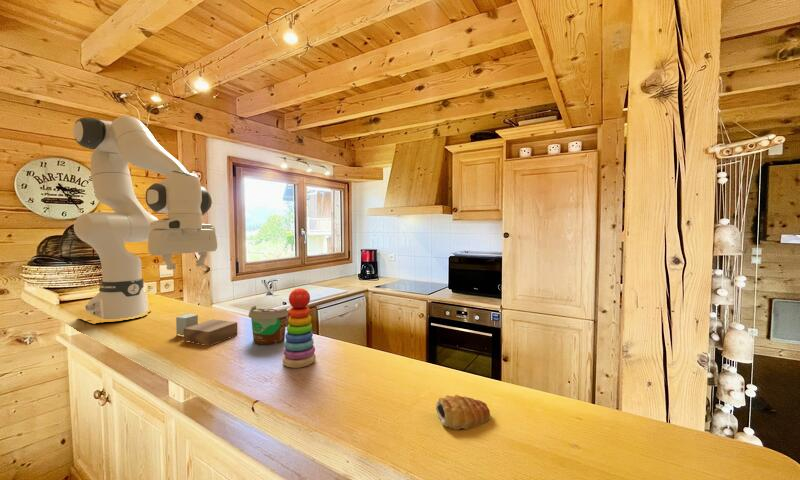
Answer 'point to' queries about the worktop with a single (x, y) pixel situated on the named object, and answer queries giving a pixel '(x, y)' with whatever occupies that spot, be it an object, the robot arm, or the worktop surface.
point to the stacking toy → (299, 332)
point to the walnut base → (210, 332)
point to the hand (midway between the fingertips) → (186, 267)
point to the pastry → (462, 412)
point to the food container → (268, 325)
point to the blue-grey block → (185, 322)
